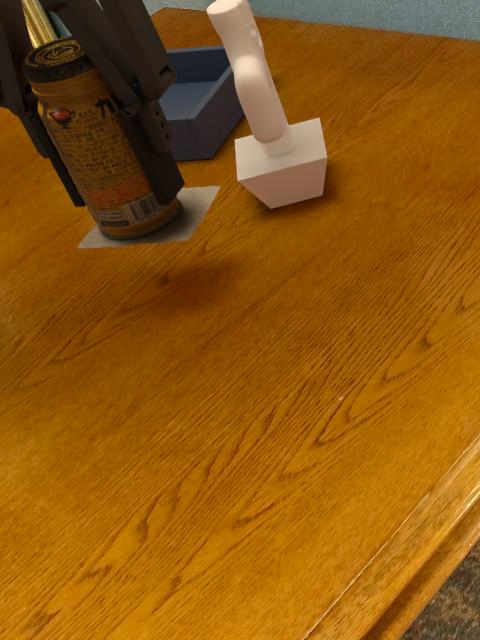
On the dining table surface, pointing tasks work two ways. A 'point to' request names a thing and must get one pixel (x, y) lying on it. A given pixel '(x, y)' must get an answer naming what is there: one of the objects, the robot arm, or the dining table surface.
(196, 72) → the bin
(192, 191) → the condiment
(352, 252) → the dining table surface
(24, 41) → the robot arm
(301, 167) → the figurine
